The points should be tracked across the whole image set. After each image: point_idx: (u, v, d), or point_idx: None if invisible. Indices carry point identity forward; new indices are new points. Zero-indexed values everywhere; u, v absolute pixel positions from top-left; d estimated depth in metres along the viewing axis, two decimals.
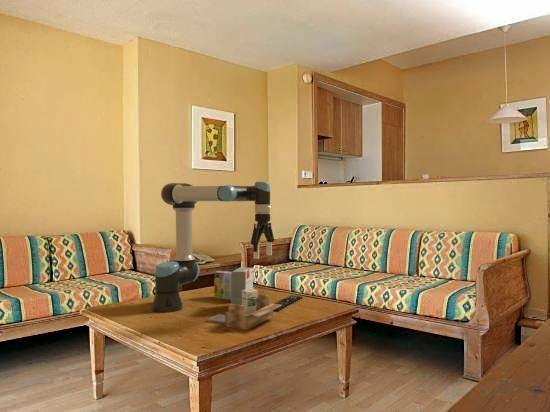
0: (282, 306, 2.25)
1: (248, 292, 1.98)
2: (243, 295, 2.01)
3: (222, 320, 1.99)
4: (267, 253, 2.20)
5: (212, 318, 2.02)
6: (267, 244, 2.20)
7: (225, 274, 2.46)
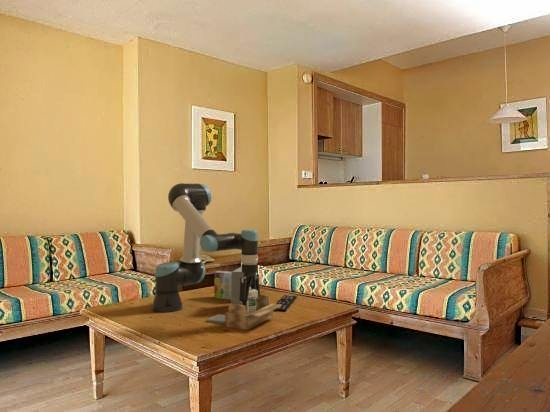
0: (286, 306, 2.24)
1: None
2: None
3: (222, 320, 1.99)
4: None
5: (212, 318, 2.02)
6: None
7: (225, 274, 2.46)
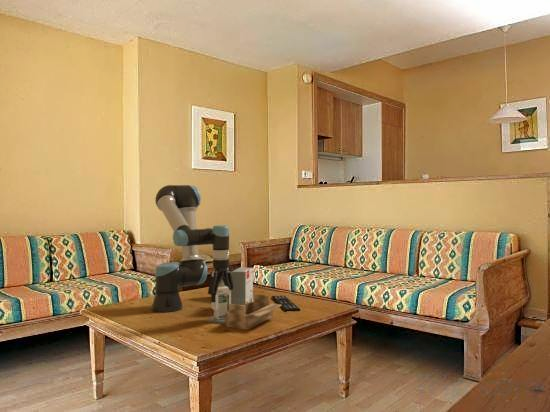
0: (295, 305, 2.26)
1: (219, 289, 2.00)
2: None
3: (222, 320, 1.99)
4: None
5: (212, 318, 2.02)
6: None
7: None
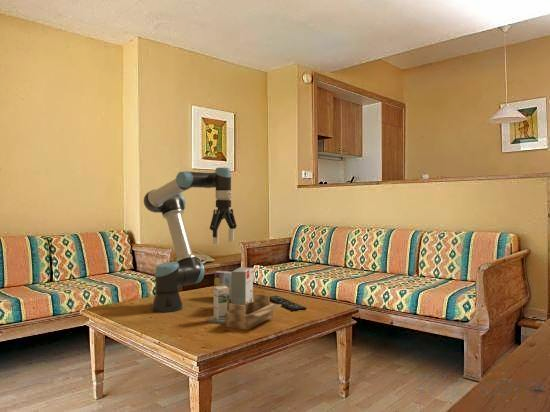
0: (298, 305, 2.27)
1: (219, 289, 2.00)
2: (214, 292, 2.03)
3: (222, 320, 1.99)
4: (229, 239, 2.20)
5: (212, 318, 2.02)
6: (229, 230, 2.20)
7: (225, 274, 2.46)
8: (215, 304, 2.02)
